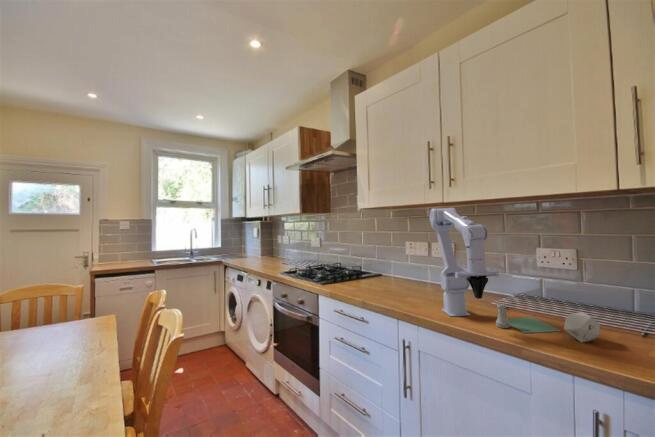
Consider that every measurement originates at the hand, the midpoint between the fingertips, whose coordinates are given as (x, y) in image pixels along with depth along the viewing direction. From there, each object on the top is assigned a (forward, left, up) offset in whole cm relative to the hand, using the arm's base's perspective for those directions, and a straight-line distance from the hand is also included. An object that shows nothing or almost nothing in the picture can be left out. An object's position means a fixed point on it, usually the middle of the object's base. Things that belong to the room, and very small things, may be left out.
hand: (478, 297), depth 106 cm
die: (+14, +24, -11) cm, 30 cm away
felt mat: (0, +17, -10) cm, 20 cm away
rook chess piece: (0, +8, -11) cm, 13 cm away
